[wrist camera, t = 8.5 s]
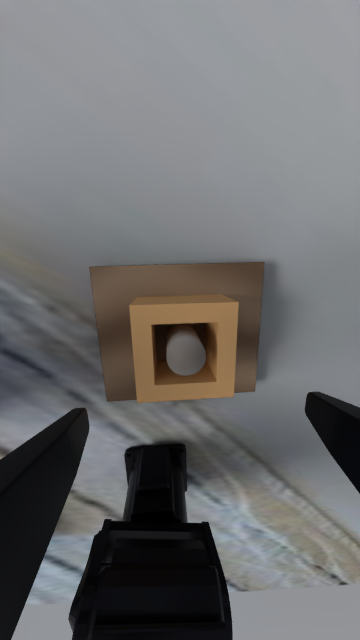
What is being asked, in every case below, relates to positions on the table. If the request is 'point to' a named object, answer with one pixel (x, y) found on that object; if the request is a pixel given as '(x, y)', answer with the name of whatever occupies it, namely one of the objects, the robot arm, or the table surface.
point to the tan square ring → (220, 347)
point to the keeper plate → (172, 284)
